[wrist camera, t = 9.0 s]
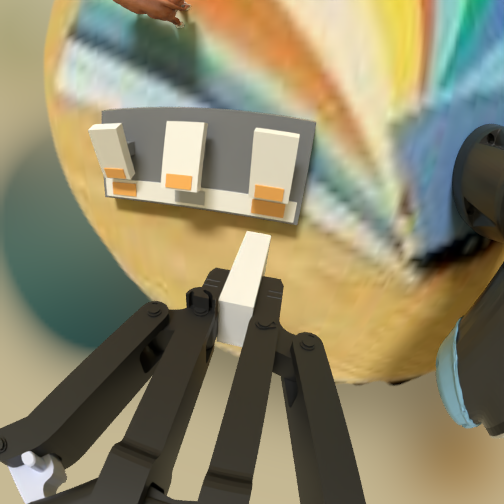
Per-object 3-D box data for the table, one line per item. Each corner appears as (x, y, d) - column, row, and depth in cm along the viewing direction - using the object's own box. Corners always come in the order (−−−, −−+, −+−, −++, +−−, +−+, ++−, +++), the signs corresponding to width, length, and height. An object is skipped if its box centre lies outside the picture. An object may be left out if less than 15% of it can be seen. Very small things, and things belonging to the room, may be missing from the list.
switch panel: (314, 121, 26) (317, 123, 23) (297, 218, 32) (297, 231, 29) (111, 109, 28) (94, 112, 25) (113, 191, 34) (99, 201, 31)
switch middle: (208, 123, 25) (204, 122, 24) (200, 190, 28) (196, 192, 26) (171, 121, 25) (166, 120, 24) (165, 186, 28) (159, 188, 27)
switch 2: (299, 134, 23) (299, 138, 22) (288, 197, 28) (287, 204, 27) (256, 127, 24) (253, 131, 23) (250, 191, 28) (247, 197, 27)
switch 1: (121, 123, 24) (115, 129, 23) (135, 173, 30) (130, 180, 29) (94, 124, 24) (87, 130, 24) (109, 171, 30) (104, 178, 29)
